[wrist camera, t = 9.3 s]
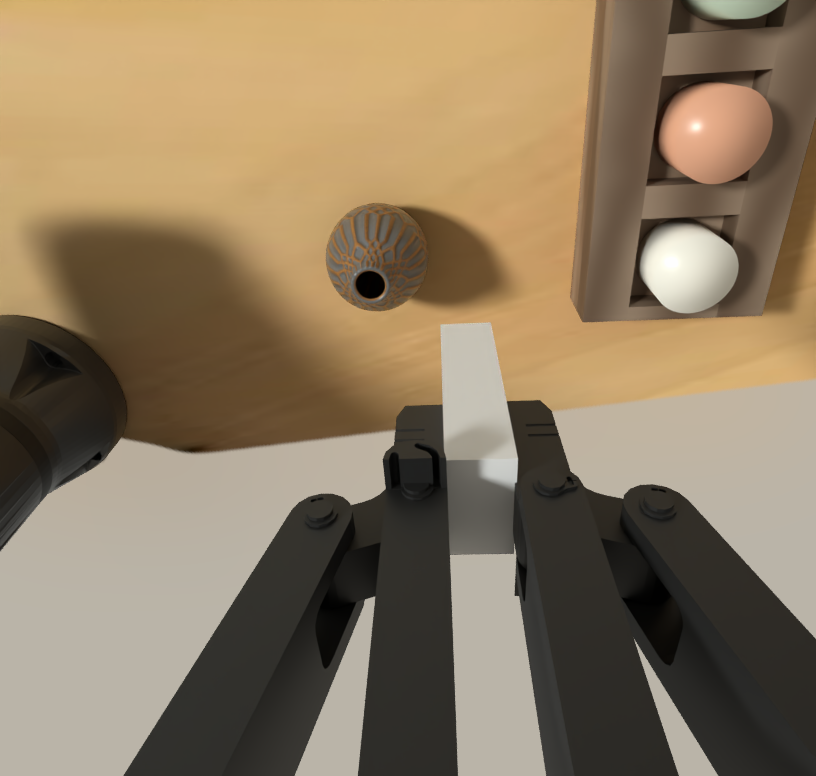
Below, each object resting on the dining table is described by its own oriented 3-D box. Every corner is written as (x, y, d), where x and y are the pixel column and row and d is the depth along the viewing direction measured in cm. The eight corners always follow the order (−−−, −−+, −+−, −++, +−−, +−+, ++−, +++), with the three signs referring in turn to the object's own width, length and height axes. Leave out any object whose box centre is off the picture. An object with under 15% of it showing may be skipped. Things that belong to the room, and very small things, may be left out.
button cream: (630, 291, 41) (648, 314, 38) (640, 219, 39) (660, 238, 35) (704, 288, 41) (728, 311, 37) (719, 216, 38) (747, 234, 35)
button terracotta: (647, 172, 37) (669, 186, 34) (660, 83, 34) (685, 88, 31) (729, 167, 37) (759, 181, 33) (748, 77, 34) (783, 82, 31)
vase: (447, 230, 42) (450, 273, 35) (394, 302, 45) (386, 356, 38) (367, 173, 40) (351, 204, 33) (317, 252, 44) (292, 297, 36)
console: (570, 297, 45) (582, 322, 41) (606, -111, 32) (628, -130, 28) (733, 291, 44) (761, 315, 40) (834, -131, 31) (889, -153, 28)
